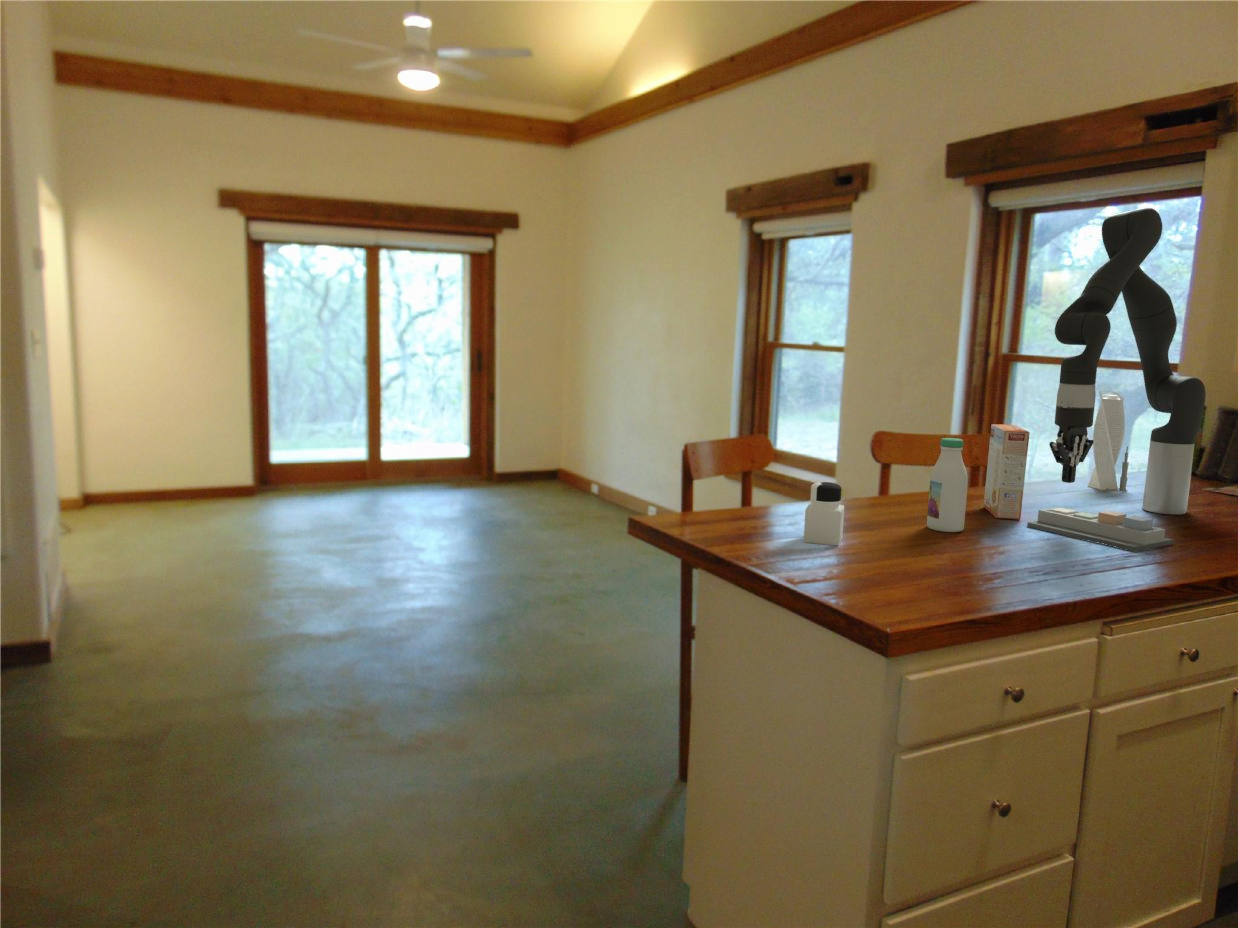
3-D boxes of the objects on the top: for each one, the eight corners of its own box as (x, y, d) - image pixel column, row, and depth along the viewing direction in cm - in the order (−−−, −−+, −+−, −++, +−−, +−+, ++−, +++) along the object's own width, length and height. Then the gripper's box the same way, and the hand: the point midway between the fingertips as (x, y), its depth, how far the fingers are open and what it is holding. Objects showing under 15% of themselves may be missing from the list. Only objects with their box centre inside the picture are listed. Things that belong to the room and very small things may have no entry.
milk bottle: (964, 527, 196) (972, 438, 192) (962, 534, 189) (970, 442, 186) (928, 523, 199) (935, 435, 196) (924, 530, 192) (931, 439, 189)
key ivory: (1059, 519, 200) (1061, 507, 200) (1075, 523, 197) (1076, 510, 196) (1049, 521, 198) (1050, 509, 198) (1065, 524, 195) (1066, 512, 195)
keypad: (1065, 520, 204) (1067, 505, 204) (1172, 544, 184) (1174, 527, 183) (1027, 526, 198) (1028, 511, 197) (1134, 551, 177) (1136, 534, 176)
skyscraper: (1101, 492, 242) (1112, 390, 237) (1080, 487, 250) (1090, 388, 245) (1127, 492, 243) (1139, 390, 239) (1106, 486, 251) (1116, 388, 247)
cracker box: (1022, 520, 204) (1030, 430, 200) (994, 519, 205) (1002, 429, 201) (1008, 508, 217) (1016, 424, 214) (982, 506, 218) (990, 423, 215)
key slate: (1133, 528, 186) (1134, 515, 185) (1151, 532, 183) (1152, 519, 182) (1122, 530, 184) (1124, 517, 184) (1140, 534, 181) (1142, 521, 180)
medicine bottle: (842, 538, 184) (846, 481, 182) (839, 546, 177) (842, 487, 175) (807, 535, 186) (810, 479, 184) (803, 542, 179) (806, 484, 177)
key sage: (1082, 524, 195) (1084, 512, 195) (1099, 528, 192) (1100, 515, 192) (1072, 526, 194) (1073, 514, 193) (1088, 530, 190) (1090, 517, 190)
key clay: (1107, 523, 191) (1109, 510, 190) (1125, 526, 187) (1126, 514, 187) (1097, 525, 189) (1098, 512, 188) (1114, 528, 185) (1116, 515, 185)
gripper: (1077, 401, 200) (1070, 477, 203) (1040, 404, 193) (1034, 482, 196) (1109, 404, 193) (1101, 482, 196) (1073, 407, 187) (1065, 487, 190)
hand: (1067, 482), depth 196 cm, fingers closed
